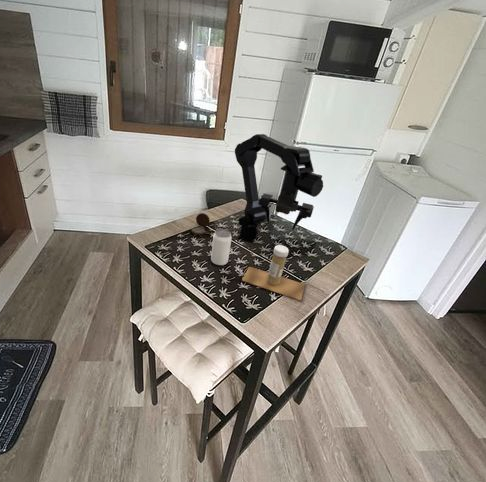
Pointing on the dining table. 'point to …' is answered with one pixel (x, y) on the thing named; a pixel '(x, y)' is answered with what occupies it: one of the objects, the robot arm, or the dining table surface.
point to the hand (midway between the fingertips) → (280, 226)
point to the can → (221, 247)
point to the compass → (201, 224)
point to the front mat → (284, 287)
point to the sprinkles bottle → (277, 264)
